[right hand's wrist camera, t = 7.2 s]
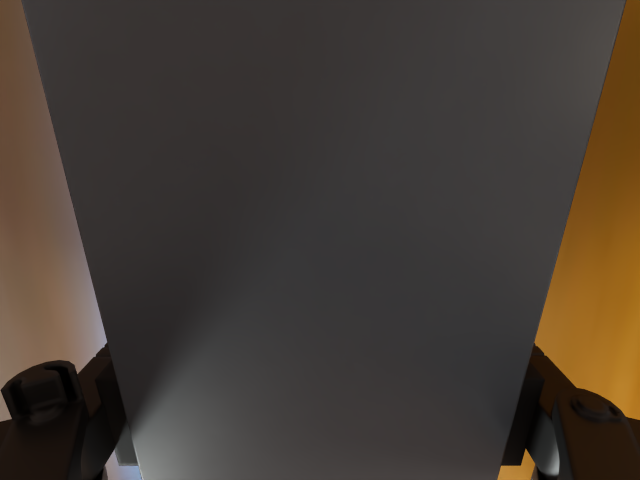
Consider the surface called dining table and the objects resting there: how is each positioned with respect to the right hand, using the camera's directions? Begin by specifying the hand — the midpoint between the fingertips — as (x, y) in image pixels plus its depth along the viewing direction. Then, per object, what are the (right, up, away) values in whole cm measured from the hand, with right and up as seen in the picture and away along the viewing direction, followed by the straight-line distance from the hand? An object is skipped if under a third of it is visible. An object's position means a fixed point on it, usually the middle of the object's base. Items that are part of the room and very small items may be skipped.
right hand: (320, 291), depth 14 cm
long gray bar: (0, +19, -7) cm, 20 cm away
